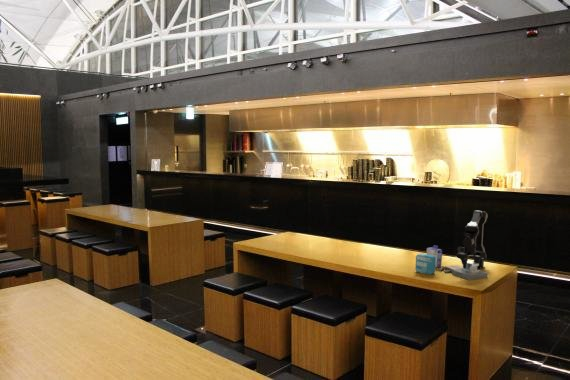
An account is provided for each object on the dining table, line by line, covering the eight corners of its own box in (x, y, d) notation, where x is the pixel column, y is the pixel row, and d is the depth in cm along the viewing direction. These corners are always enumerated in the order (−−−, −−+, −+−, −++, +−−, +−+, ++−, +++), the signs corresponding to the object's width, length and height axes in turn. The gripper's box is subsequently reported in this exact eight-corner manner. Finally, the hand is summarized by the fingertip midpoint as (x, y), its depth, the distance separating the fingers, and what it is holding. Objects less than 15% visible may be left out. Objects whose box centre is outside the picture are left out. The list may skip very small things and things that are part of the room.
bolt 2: (450, 271, 326) (450, 268, 326) (453, 272, 324) (453, 268, 324) (444, 272, 324) (444, 269, 323) (446, 273, 322) (446, 269, 321)
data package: (415, 271, 325) (415, 254, 324) (417, 270, 329) (418, 253, 327) (432, 274, 318) (433, 257, 317) (435, 273, 321) (435, 255, 320)
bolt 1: (441, 269, 332) (441, 265, 332) (444, 269, 331) (445, 266, 330) (438, 270, 328) (438, 267, 328) (441, 271, 326) (441, 268, 326)
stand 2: (469, 271, 326) (470, 267, 326) (487, 277, 313) (487, 272, 312) (451, 274, 320) (452, 269, 320) (468, 280, 306) (469, 275, 306)
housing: (468, 269, 321) (468, 260, 321) (478, 272, 313) (478, 263, 313) (461, 270, 319) (461, 261, 318) (471, 273, 311) (471, 264, 310)
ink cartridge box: (442, 266, 339) (442, 246, 337) (436, 267, 336) (437, 247, 334) (430, 263, 347) (431, 243, 346) (425, 264, 344) (426, 244, 343)
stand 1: (456, 267, 337) (457, 264, 336) (468, 271, 327) (469, 268, 326) (444, 269, 332) (444, 266, 332) (456, 273, 322) (456, 270, 322)
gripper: (472, 240, 325) (471, 263, 327) (451, 242, 318) (450, 266, 319) (485, 244, 315) (484, 267, 317) (463, 246, 308) (462, 270, 309)
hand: (469, 267), depth 316 cm, fingers open, 9 cm apart
